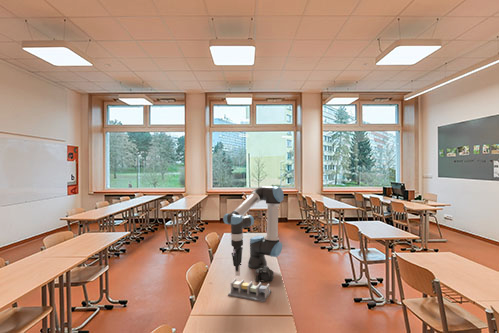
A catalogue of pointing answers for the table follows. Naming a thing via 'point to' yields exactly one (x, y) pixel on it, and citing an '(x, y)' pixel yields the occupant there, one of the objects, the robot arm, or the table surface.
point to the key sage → (253, 288)
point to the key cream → (236, 284)
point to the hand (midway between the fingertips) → (237, 275)
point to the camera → (264, 274)
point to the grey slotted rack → (249, 292)
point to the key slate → (262, 288)
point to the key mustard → (244, 285)
